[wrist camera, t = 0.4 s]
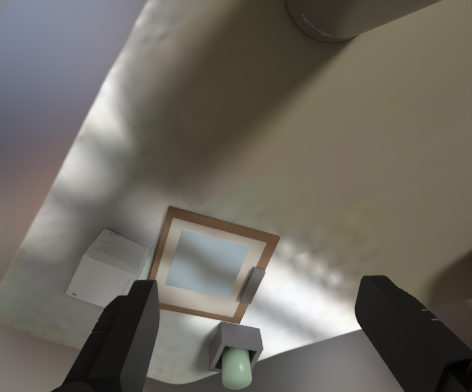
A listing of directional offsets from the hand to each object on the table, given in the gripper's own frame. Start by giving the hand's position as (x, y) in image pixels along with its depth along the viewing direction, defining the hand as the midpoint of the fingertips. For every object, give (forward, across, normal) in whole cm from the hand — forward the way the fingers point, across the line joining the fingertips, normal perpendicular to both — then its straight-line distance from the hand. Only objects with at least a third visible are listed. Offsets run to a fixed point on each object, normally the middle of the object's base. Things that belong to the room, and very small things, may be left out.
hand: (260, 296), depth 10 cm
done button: (+18, -1, +24) cm, 30 cm away
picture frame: (+18, +2, +12) cm, 22 cm away
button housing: (+19, -1, +24) cm, 30 cm away
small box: (+19, +13, +10) cm, 24 cm away
